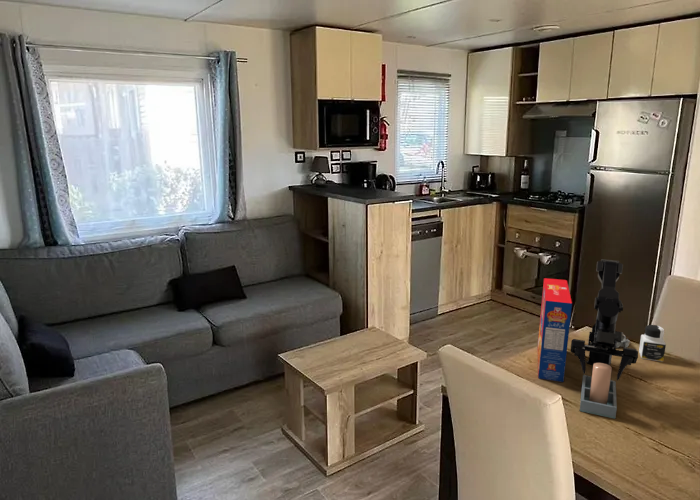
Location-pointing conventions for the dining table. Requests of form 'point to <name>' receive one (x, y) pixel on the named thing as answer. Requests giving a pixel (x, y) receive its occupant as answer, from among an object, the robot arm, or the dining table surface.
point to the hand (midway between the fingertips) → (600, 376)
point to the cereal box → (554, 329)
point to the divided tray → (595, 407)
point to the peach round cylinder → (600, 383)
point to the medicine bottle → (652, 343)
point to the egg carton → (623, 342)
